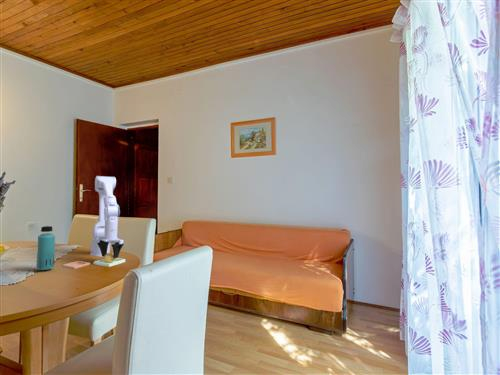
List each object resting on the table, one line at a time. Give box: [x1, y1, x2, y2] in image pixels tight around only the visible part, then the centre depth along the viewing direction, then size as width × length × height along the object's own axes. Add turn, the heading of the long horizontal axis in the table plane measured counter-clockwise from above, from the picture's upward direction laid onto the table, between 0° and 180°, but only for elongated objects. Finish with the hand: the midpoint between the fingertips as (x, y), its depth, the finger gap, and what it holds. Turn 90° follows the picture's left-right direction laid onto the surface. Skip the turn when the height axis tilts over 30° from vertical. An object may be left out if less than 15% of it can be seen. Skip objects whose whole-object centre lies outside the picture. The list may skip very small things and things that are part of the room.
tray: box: [93, 257, 126, 268], centre depth 136 cm, size 10×10×2 cm
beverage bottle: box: [35, 225, 56, 271], centre depth 121 cm, size 6×7×20 cm
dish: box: [61, 260, 91, 270], centre depth 130 cm, size 8×8×1 cm
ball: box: [103, 252, 115, 263], centre depth 136 cm, size 5×5×5 cm
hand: (109, 256), depth 136 cm, fingers open, 7 cm apart
